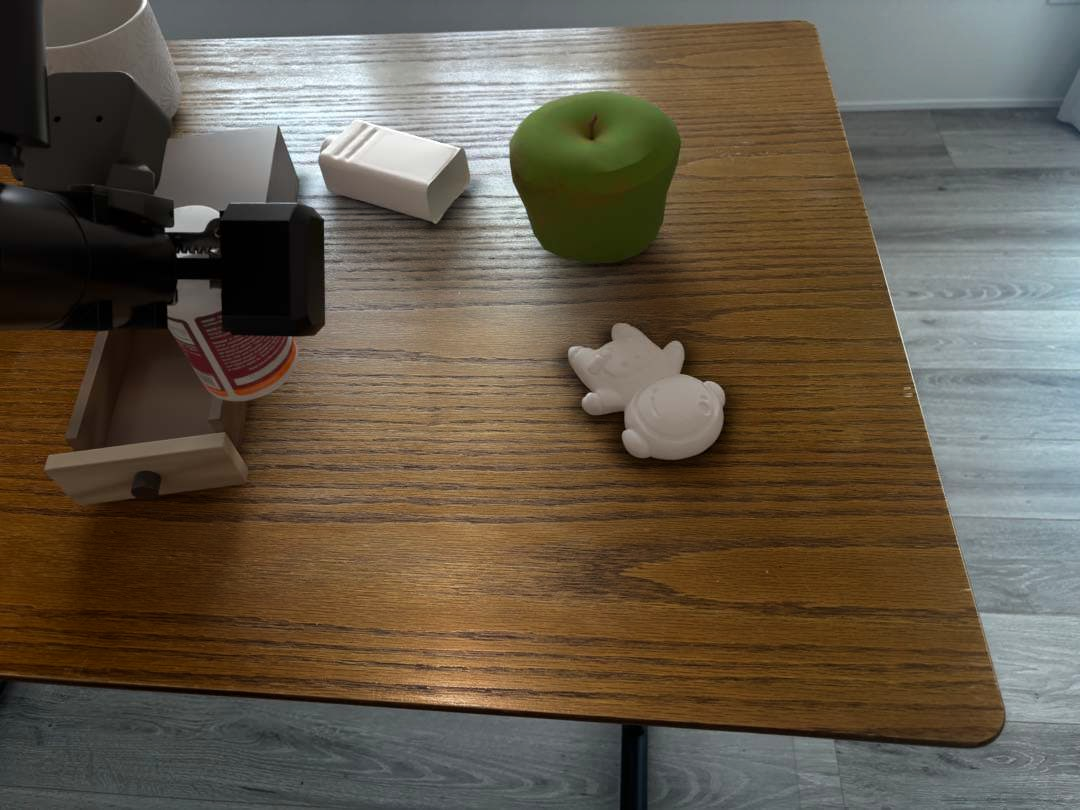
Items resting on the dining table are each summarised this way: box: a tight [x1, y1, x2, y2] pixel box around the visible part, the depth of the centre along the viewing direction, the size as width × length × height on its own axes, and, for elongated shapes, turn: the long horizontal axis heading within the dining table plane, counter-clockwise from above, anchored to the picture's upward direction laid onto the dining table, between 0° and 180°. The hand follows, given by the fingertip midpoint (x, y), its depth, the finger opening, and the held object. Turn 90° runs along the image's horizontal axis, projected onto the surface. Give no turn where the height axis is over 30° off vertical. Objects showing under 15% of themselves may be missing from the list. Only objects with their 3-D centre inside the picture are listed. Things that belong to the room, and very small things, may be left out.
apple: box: [508, 90, 682, 265], centre depth 64 cm, size 12×12×11 cm
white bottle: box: [317, 119, 471, 224], centre depth 73 cm, size 6×13×4 cm, turn 62°
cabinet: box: [155, 124, 300, 212], centre depth 69 cm, size 18×12×6 cm
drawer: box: [43, 328, 249, 506], centre depth 59 cm, size 19×11×4 cm, turn 6°
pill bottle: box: [165, 206, 299, 401], centre depth 49 cm, size 6×6×11 cm
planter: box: [44, 0, 182, 119], centre depth 81 cm, size 12×12×11 cm
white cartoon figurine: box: [567, 322, 726, 461], centre depth 57 cm, size 9×12×3 cm
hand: (220, 276), depth 49 cm, fingers closed on pill bottle, 6 cm apart
